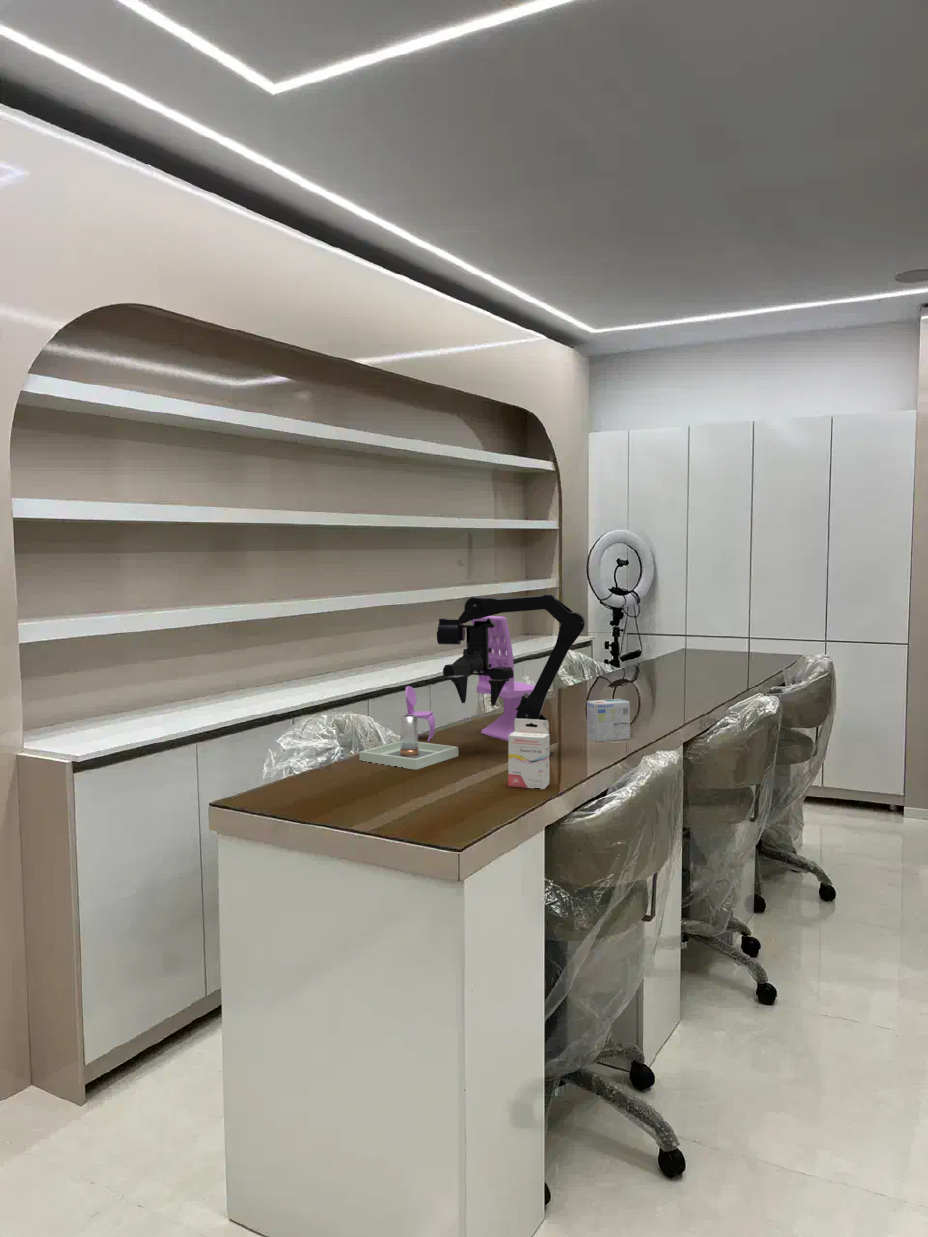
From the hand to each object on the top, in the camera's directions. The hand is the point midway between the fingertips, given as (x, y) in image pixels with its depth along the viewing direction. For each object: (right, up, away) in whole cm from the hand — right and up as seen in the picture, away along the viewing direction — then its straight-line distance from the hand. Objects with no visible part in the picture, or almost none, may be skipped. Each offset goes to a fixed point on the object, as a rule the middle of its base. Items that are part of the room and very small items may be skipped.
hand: (478, 704), depth 235 cm
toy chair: (-17, -12, +22) cm, 30 cm away
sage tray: (-18, -14, -4) cm, 23 cm away
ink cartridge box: (+11, -15, -33) cm, 38 cm away
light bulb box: (+37, -12, +19) cm, 43 cm away
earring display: (+9, -12, +25) cm, 29 cm away
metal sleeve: (-18, -13, -4) cm, 22 cm away
